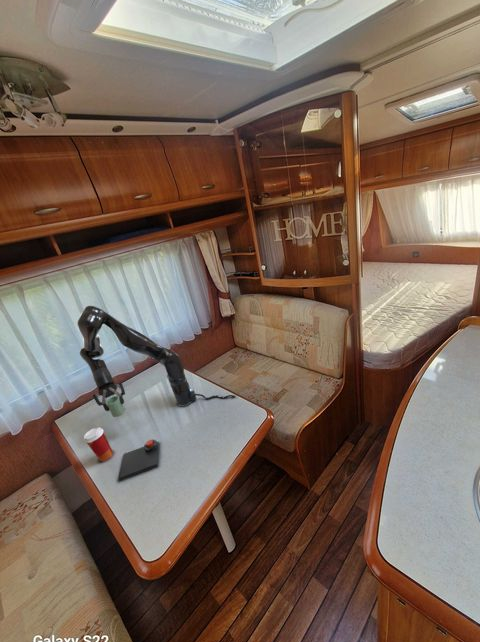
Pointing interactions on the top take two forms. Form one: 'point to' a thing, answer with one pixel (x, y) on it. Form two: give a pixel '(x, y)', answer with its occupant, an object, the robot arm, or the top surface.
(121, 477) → the scale
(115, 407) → the tumbler
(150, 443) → the tare button
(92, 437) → the coffee cup
